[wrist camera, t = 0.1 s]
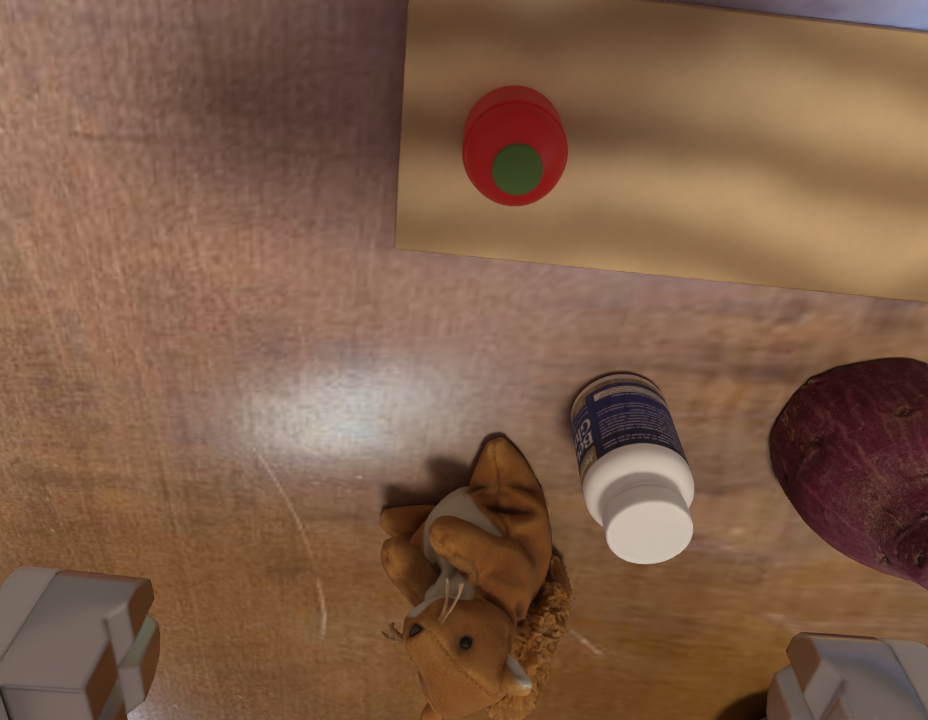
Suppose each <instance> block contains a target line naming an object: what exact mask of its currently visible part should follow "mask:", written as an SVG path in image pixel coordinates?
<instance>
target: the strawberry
mask: <svg viewBox="0 0 928 720" xmlns="http://www.w3.org/2000/svg"><path fill="white" fill-rule="evenodd" d="M462 156H463V164H464V168H465V171H466V173H467V176H468V178H469V179H470V181H471V182H472V184H473V185H474V186H475V188H476V189H477V190H478V191H479V192H480V193H481V194H483V195H484V196H485V197H486V198H488V199H489V200H491V201H493V202H495V203H498V204H501V205H505V206H524V205H529V204H531V203H534V202H536V201H538V200H540V199H542V198H543V197H545V196H546V195H547V194H548V193H549V192H550V191H551V190H552V189H553V188H554V187H555V186H556V184H557V183H558V181H559V179H560V178H561V176H562V174H563V172H564V169H565V167H566V163H567V159H568V142H567V137H566V134H565V131H564V128H563V125H562V123H561V120H560V117H559V115H558V113H557V110H556V109H555V107H554V106H553V104H552V103H551V102H550V101H549V100H548V99H547V98H546V97H545V96H544V95H542V94H541V93H539V92H538V91H536V90H534V89H531V88H528V87H524V86H515V85H512V86H504V87H500V88H497V89H495V90H493V91H491V92H489V93H487V94H486V95H484V96H483V97H482V98H481V99H480V100H479V101H478V102H477V103H476V104H475V105H474V106H473V108H472V109H471V111H470V113H469V115H468V117H467V120H466V123H465V127H464V135H463V151H462Z"/></svg>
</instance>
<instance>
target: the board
mask: <svg viewBox="0 0 928 720" xmlns="http://www.w3.org/2000/svg"><path fill="white" fill-rule="evenodd" d="M512 85H515V86H524V87H528V88H531V89H534V90H536V91H538V92H539V93H541V94H542V95H544V96H545V97H546V98H547V99H548V100H549V101H550V102H551V103H552V104H553V106H554V107H555V109H556V110H557V113H558V115H559V117H560V120H561V123H562V125H563V128H564V131H565V134H566V137H567V142H568V159H567V163H566V167H565V169H564V172H563V174H562V176H561V178H560V179H559V181H558V183H557V184H556V186H555V187H554V188H553V189H552V190H551V191H550V192H549V193H548V194H547V195H546V196H545V197H543V198H542V199H540V200H538V201H536V202H534V203H531V204H529V205H524V206H505V205H501V204H498V203H495V202H493V201H491V200H489V199H488V198H486V197H485V196H484V195H483V194H481V193H480V192H479V191H478V190H477V189H476V188H475V186H474V185H473V184H472V182H471V181H470V179H469V178H468V176H467V173H466V171H465V168H464V164H463V156H462V151H463V135H464V127H465V123H466V120H467V117H468V115H469V113H470V111H471V109H472V108H473V106H474V105H475V104H476V103H477V102H478V101H479V100H480V99H481V98H482V97H483V96H484V95H486V94H487V93H489V92H491V91H493V90H495V89H497V88H500V87H504V86H512ZM394 248H395V249H402V250H412V251H422V252H432V253H442V254H452V255H462V256H472V257H482V258H492V259H502V260H512V261H522V262H532V263H542V264H552V265H562V266H572V267H582V268H591V269H601V270H611V271H621V272H631V273H641V274H651V275H661V276H671V277H681V278H691V279H701V280H711V281H721V282H731V283H741V284H751V285H761V286H771V287H781V288H791V289H801V290H811V291H820V292H830V293H840V294H850V295H860V296H870V297H880V298H890V299H900V300H910V301H920V302H928V31H925V30H916V29H907V28H898V27H889V26H881V25H872V24H863V23H854V22H845V21H837V20H828V19H819V18H810V17H801V16H793V15H784V14H775V13H766V12H758V11H749V10H740V9H731V8H722V7H714V6H705V5H696V4H687V3H678V2H670V1H661V0H408V16H407V33H406V51H405V68H404V86H403V103H402V121H401V138H400V156H399V173H398V191H397V208H396V226H395V243H394Z"/></svg>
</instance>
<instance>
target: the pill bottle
mask: <svg viewBox="0 0 928 720" xmlns="http://www.w3.org/2000/svg"><path fill="white" fill-rule="evenodd" d="M571 426H572V433H573V439H574V444H575V450H576V456H577V462H578V468H579V474H580V480H581V486H582V492H583V497H584V500H585V504H586V506H587V509H588V511H589V513H590V514H591V516H592V517H593V518H594V519H595V520H596V521H597V522H598V523H599V524H600V525H601V526H603V528H604V532H605V536H606V541H607V543H608V546H609V547H610V549H611V550H612V551H613V552H614V553H615V554H616V555H617V556H618V557H620V558H622V559H623V560H626V561H628V562H632V563H637V564H654V563H659V562H662V561H666V560H668V559H670V558H673V557H674V556H676V555H677V554H679V553H680V552H681V551H683V550H684V549H685V548H686V546H687V545H688V544H689V542H690V540H691V538H692V535H693V523H692V519H691V516H690V512H689V507H690V505H691V503H692V500H693V496H694V481H693V477H692V474H691V471H690V468H689V465H688V462H687V459H686V457H685V454H684V451H683V448H682V446H681V443H680V440H679V437H678V435H677V432H676V429H675V426H674V424H673V421H672V418H671V415H670V412H669V410H668V407H667V404H666V402H665V400H664V398H663V396H662V394H661V392H660V391H659V390H658V389H657V388H656V387H655V386H654V385H653V384H652V383H651V382H649V381H647V380H646V379H644V378H641V377H638V376H635V375H628V374H617V375H611V376H607V377H604V378H601V379H599V380H597V381H595V382H593V383H591V384H590V385H588V386H587V387H586V388H585V389H584V390H583V391H582V392H581V393H580V394H579V395H578V397H577V398H576V400H575V402H574V404H573V407H572V412H571Z"/></svg>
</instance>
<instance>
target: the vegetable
mask: <svg viewBox="0 0 928 720" xmlns="http://www.w3.org/2000/svg"><path fill="white" fill-rule="evenodd" d="M770 442H771V454H772V460H773V464H774V469H775V472H776V475H777V479H778V481H779V483H780V485H781V487H782V489H783V491H784V492H785V494H786V495H787V497H788V499H789V500H790V502H791V503H792V505H793V506H794V508H795V509H796V511H797V512H798V514H799V515H800V516H801V518H802V519H803V520H804V521H805V522H806V524H807V525H808V526H809V527H810V528H811V529H812V530H813V531H814V532H816V533H817V534H818V535H819V536H820V537H821V538H822V539H823V540H825V541H826V542H827V543H828V544H829V545H831V546H832V547H833V548H835V549H836V550H838V551H839V552H841V553H842V554H844V555H846V556H847V557H849V558H851V559H853V560H855V561H857V562H859V563H861V564H863V565H866V566H868V567H870V568H873V569H875V570H877V571H880V572H882V573H885V574H889V575H892V576H895V577H898V578H903V579H906V580H909V581H913V582H915V583H917V584H919V585H921V586H922V587H924V588H926V589H927V590H928V365H927V364H925V363H922V362H918V361H915V360H909V359H885V360H877V361H871V362H868V363H859V364H856V365H850V366H844V367H841V368H840V367H839V368H835V369H833V370H831V371H829V372H828V373H825V374H823V375H820V376H817V377H814V378H812V379H810V380H809V382H808V383H807V384H806V385H805V386H802V388H801V389H800V390H799V391H798V392H797V393H796V395H794V397H793V398H792V399H791V401H790V402H789V404H788V405H787V407H786V409H784V411H783V413H782V414H781V415H780V418H779V419H778V420H777V422H776V424H775V427H774V430H773V432H772V434H771V438H770Z"/></svg>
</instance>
